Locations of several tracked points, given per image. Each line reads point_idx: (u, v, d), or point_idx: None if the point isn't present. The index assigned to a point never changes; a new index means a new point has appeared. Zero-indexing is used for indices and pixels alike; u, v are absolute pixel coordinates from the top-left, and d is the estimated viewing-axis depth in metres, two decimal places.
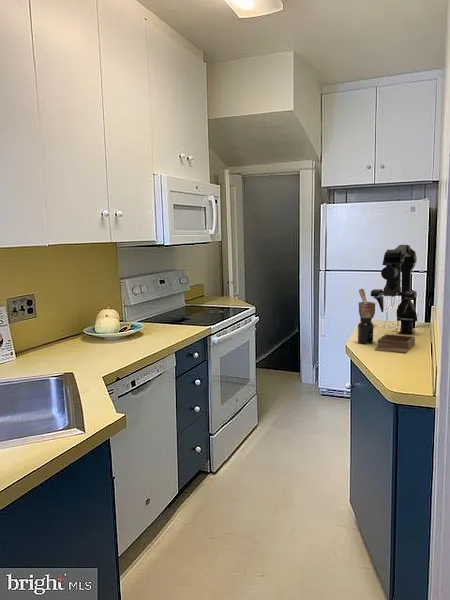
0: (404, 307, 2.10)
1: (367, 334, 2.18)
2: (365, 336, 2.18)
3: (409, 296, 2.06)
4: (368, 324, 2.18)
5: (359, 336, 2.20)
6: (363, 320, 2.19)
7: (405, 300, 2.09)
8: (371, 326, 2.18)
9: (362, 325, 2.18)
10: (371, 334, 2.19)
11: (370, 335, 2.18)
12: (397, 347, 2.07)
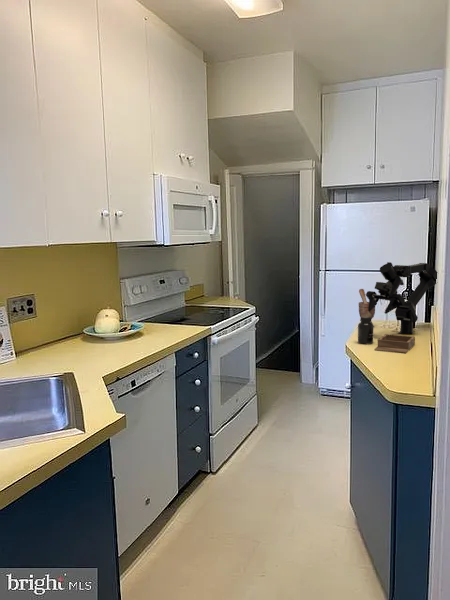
0: (387, 307, 2.21)
1: (367, 334, 2.18)
2: (365, 336, 2.18)
3: (395, 296, 2.19)
4: (368, 324, 2.18)
5: (359, 336, 2.20)
6: (363, 320, 2.19)
7: (390, 300, 2.21)
8: (371, 326, 2.18)
9: (362, 325, 2.18)
10: (371, 334, 2.19)
11: (370, 335, 2.18)
12: (397, 347, 2.07)
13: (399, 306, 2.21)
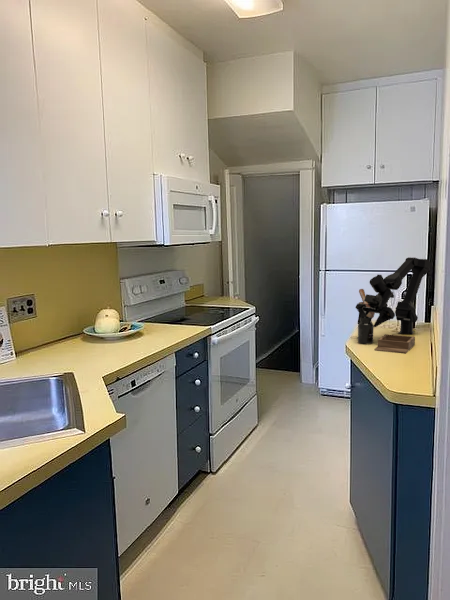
0: (377, 320, 2.17)
1: (367, 334, 2.18)
2: (365, 336, 2.18)
3: (385, 309, 2.16)
4: (368, 324, 2.18)
5: (359, 336, 2.20)
6: (363, 320, 2.19)
7: (380, 313, 2.17)
8: (371, 326, 2.18)
9: (362, 325, 2.18)
10: (371, 334, 2.19)
11: (370, 335, 2.18)
12: (397, 347, 2.07)
13: (389, 319, 2.18)
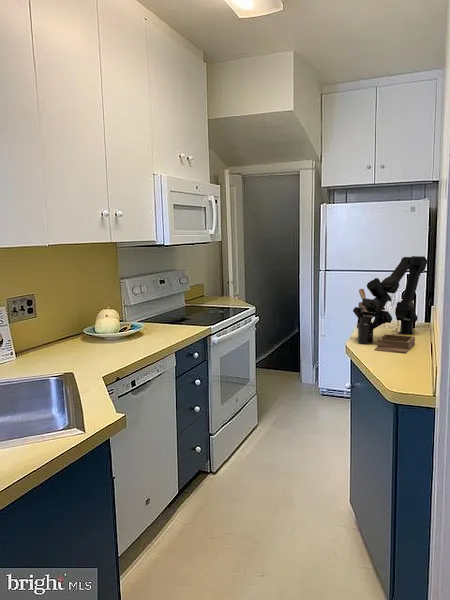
0: (372, 324, 2.17)
1: (367, 334, 2.18)
2: (365, 336, 2.18)
3: (382, 313, 2.15)
4: (368, 324, 2.18)
5: (359, 336, 2.20)
6: (363, 320, 2.19)
7: (375, 317, 2.17)
8: None
9: (362, 325, 2.18)
10: (371, 334, 2.19)
11: (370, 335, 2.18)
12: (397, 347, 2.07)
13: (384, 323, 2.18)
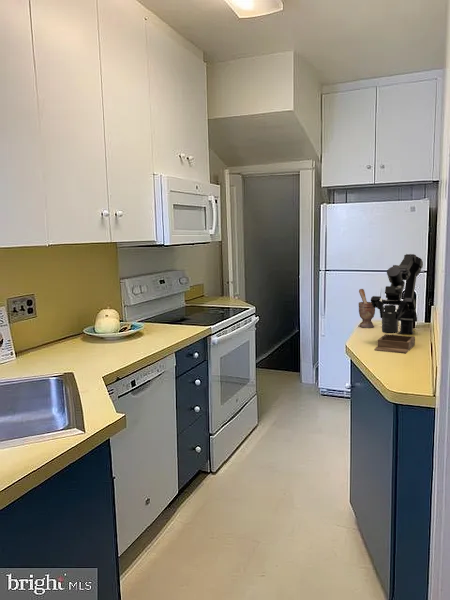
0: (399, 312, 2.10)
1: (394, 323, 2.10)
2: (392, 325, 2.10)
3: (409, 300, 2.10)
4: (394, 312, 2.11)
5: (385, 326, 2.11)
6: (389, 309, 2.11)
7: (401, 305, 2.11)
8: None
9: (389, 314, 2.10)
10: (397, 323, 2.12)
11: (397, 324, 2.11)
12: (397, 347, 2.07)
13: (408, 310, 2.13)
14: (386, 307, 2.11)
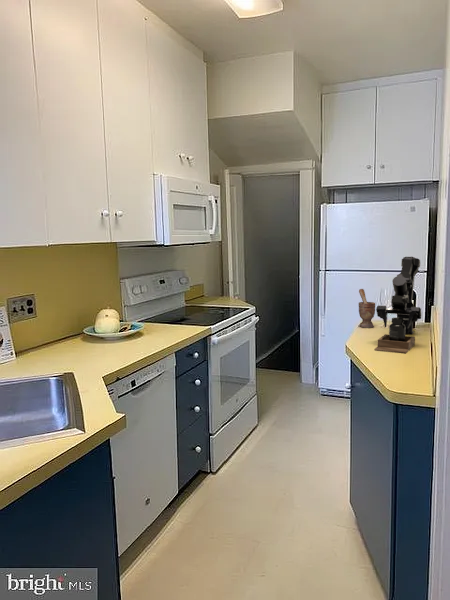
0: (409, 321, 2.09)
1: (402, 336, 2.10)
2: (400, 338, 2.10)
3: (415, 309, 2.10)
4: (402, 325, 2.10)
5: (394, 338, 2.11)
6: (397, 321, 2.10)
7: (410, 314, 2.10)
8: (405, 327, 2.11)
9: (397, 327, 2.09)
10: None
11: (404, 336, 2.11)
12: (397, 347, 2.07)
13: (416, 320, 2.13)
14: (394, 320, 2.11)
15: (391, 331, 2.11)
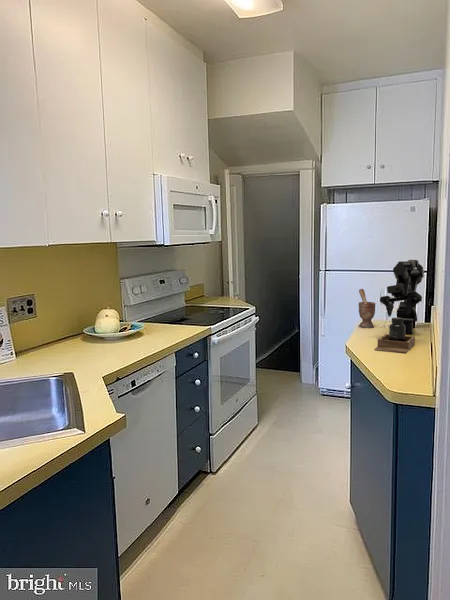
0: (407, 307, 2.17)
1: (402, 336, 2.10)
2: (400, 338, 2.10)
3: (411, 294, 2.16)
4: (402, 325, 2.10)
5: (394, 338, 2.11)
6: (397, 321, 2.10)
7: (407, 300, 2.17)
8: None
9: (397, 327, 2.09)
10: None
11: (404, 336, 2.11)
12: (397, 347, 2.07)
13: None
14: (394, 320, 2.11)
15: (391, 331, 2.11)
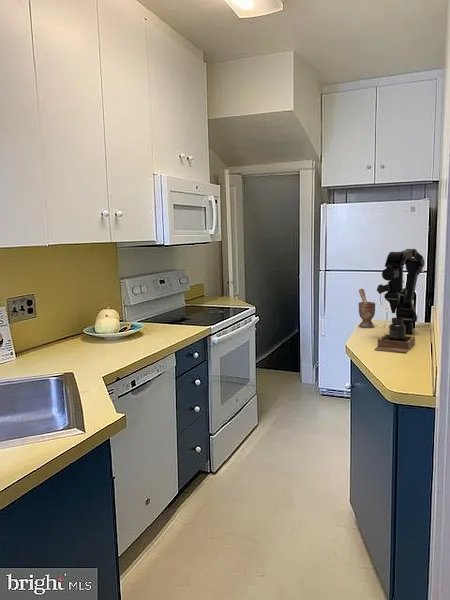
0: None
1: (402, 336, 2.10)
2: (400, 338, 2.10)
3: None
4: (402, 325, 2.10)
5: (394, 338, 2.11)
6: (397, 321, 2.10)
7: None
8: (405, 327, 2.11)
9: (397, 327, 2.09)
10: None
11: (404, 336, 2.11)
12: (397, 347, 2.07)
13: (397, 300, 2.18)
14: (394, 320, 2.11)
15: (391, 331, 2.11)
